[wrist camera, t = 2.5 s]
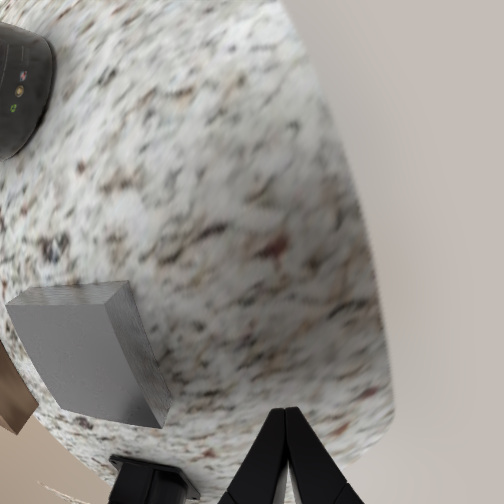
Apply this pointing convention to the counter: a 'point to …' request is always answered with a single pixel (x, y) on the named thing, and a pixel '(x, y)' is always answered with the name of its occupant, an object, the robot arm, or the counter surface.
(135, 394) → the grey metal plate
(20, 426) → the curved brown bar
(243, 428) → the counter surface
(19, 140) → the supplement bottle
